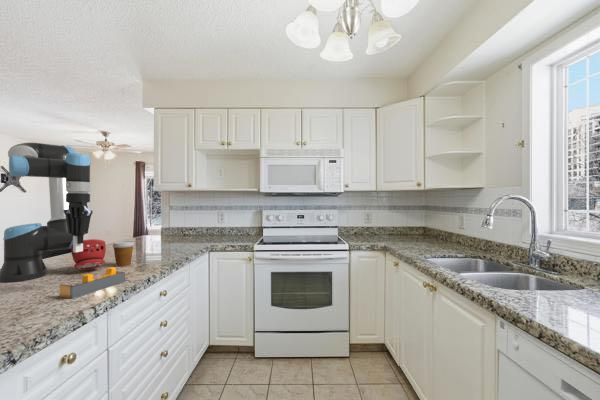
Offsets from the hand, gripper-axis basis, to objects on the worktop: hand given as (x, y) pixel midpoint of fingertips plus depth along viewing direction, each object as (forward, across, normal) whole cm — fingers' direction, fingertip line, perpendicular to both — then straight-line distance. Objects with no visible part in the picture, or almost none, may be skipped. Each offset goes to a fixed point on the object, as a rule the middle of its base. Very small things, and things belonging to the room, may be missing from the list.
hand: (78, 251), depth 108 cm
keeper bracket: (+14, +11, 0) cm, 17 cm away
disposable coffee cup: (+14, -13, +31) cm, 36 cm away
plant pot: (+12, -17, +16) cm, 26 cm away
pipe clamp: (+14, +9, +1) cm, 17 cm away
